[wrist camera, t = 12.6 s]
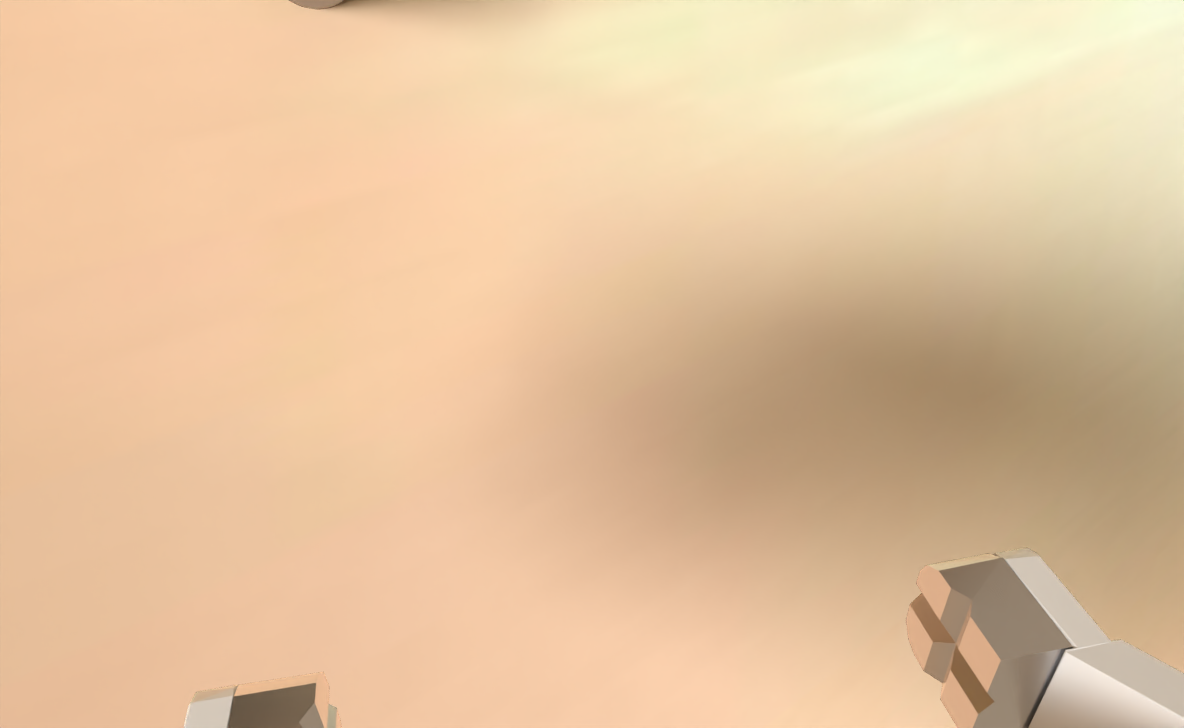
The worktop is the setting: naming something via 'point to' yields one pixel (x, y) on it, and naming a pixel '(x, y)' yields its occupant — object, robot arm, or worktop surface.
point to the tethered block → (316, 3)
